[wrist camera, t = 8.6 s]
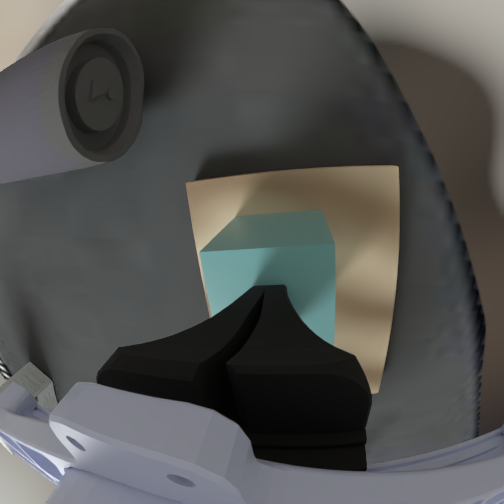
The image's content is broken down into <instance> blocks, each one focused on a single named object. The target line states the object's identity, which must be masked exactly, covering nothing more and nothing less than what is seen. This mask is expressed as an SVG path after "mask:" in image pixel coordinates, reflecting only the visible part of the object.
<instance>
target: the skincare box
mask: <svg viewBox="0 0 504 504" xmlns="http://www.w3.org/2000/svg"><path fill="white" fill-rule="evenodd" d="M12 382H16V383H17V384H19V385H21V386H23V387H25V388H26V389H27V390H28V391H29V392H30V393H31V394H32V395H33V397H34V398H35V400H36V401H37V404H38V405H40V406H42V407H44V408H45V409H47V410H49V411H51V412H52V411H53V410H54V408H55V407H56V406H57V405H58V402H57V399H56V396H55V392H54V387H53V382H52V380H51V379H50V378H49V377H47V376H46V375H45V374H44V373H43V372H41V371H40V370H39V369H38V368H37V367H36V366H35V365H33V364H32V363H31V362H28V363H27V364H26V365H25V366H24V367H23V368H21V369H20V370H19V371H18V372H17V373H16V374H14V375H13V376H12V377H11V378H10V379H9V380H8V381H6V382H5V383H4V384H3V385H2V386H1V387H0V394H1V393H2V392H3V391H4V390H5V389H6V388H7V387H8V386H9V385H10V384H11V383H12ZM0 442H1V444H2V445H3V446H4V447H5V448H6V449H7V450H8V451H9V452H10V453H11V454H12V455H14V454H15V452H14V451H13V450H12V449H11V448H10V447H9V446H8V445H7V444H6V443H5V442H4V440H3V439H2V438H1V437H0Z"/></svg>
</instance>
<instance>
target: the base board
mask: <svg viewBox="0 0 504 504" xmlns="http://www.w3.org/2000/svg"><path fill="white" fill-rule="evenodd" d="M186 189H187V195H188V202H189V208H190V214H191V220H192V226H193V232H194V238H195V243H196V249H197V255H198V260H199V265H200V270H201V276H202V281H203V286H204V291H205V296H206V300H207V305H208V310H209V315H210V318H211V317H212V315H211V310H210V305H209V301H208V296H207V291H206V286H205V280H204V275H203V270H202V265H201V259H200V254H199V252H200V251H201V250H202V249H203V248H204V247H205V246H206V245H207V244H208V243H209V242H210V241H211V240H212V239H213V238H214V237H215V236H216V235H217V234H218V233H219V232H220V231H221V230H222V229H223V228H224V227H225V226H226V225H227V224H228V223H229V222H230V221H231V220H232V219H233V218H235V217H236V216H246V215H258V214H271V213H285V212H299V211H315V210H322V211H323V214H324V216H325V219H326V221H327V224H328V226H329V229H330V232H331V234H332V237H333V240H334V243H335V272H336V290H335V333H334V346H335V347H337V348H339V349H341V350H344V351H346V352H349V353H351V354H353V355H355V356H356V358H357V359H358V361H359V363H360V365H361V367H362V369H363V371H364V373H365V375H366V378H367V380H368V383H369V386H370V389H371V393H378V391H379V387H380V383H381V379H382V374H383V369H384V364H385V359H386V354H387V349H388V343H389V337H390V331H391V324H392V317H393V310H394V302H395V293H396V283H397V271H398V256H399V232H400V190H399V167H398V166H393V165H369V166H339V167H319V168H304V169H291V170H279V171H268V172H258V173H249V174H240V175H231V176H224V177H216V178H209V179H202V180H195V181H191V182H187V183H186Z"/></svg>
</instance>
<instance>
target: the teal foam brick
mask: <svg viewBox="0 0 504 504" xmlns="http://www.w3.org/2000/svg"><path fill="white" fill-rule="evenodd" d="M199 254H200V259H201V265H202V270H203V275H204V280H205V286H206V291H207V296H208V301H209V305H210V310H211V315H212V316H214V315H216V314H217V313H218V312H220V311H221V310H223V309H224V308H226V307H227V306H229V305H230V304H231V303H233V302H234V301H235V300H236V299H238V298H239V297H240V296H241V295H243V294H244V293H245V292H246V291H247V290H249V289H250V288H251V287H253V286H261V285H285V286H286V287H287V294H288V297H289V299H290V301H291V303H292V305H293V307H294V309H295V310H296V312H297V314H298V315H299V316H300V318H301V319H302V320H303V322H304V323H305V324H306V325H307V326H308V327H309V328H310V329H311V330H312V331H313V332H314V333H315V334H316V335H318V336H319V337H320V338H322V339H323V340H324V341H326V342H328V343H330V344H331V345H333V346H334V333H335V290H336V272H335V243H334V240H333V237H332V234H331V232H330V229H329V226H328V224H327V221H326V219H325V216H324V214H323V211H322V210H315V211H299V212H285V213H271V214H258V215H246V216H236V217H235V218H233V219H232V220H231V221H230V222H229V223H228V224H227V225H226V226H225V227H224V228H223V229H222V230H221V231H220V232H219V233H218V234H217V235H216V236H215V237H214V238H213V239H212V240H211V241H210V242H209V243H208V244H207V245H206V246H205V247H204V248H203V249H202V250H201V251H200V252H199Z"/></svg>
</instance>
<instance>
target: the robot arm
mask: <svg viewBox="0 0 504 504" xmlns="http://www.w3.org/2000/svg"><path fill="white" fill-rule="evenodd" d="M96 379H97V383H92V382H77V383H76V384H75V385H74V386H73V387H72V388H71V390H70V391H69V392H68V393H67V394H66V395H65V397H64V398H63V399H62V400H61V401H60V402H59V404H58V405H57V406H56V407H55V408H54V410H53V411H52V412H51V411H49V410H47V409H45V408H44V407H42V406H40V405H38V404H37V401H36V400H35V398H34V397H33V395H32V394H31V393H30V392H29V391H28V390H27V389H26V388H25V387H23V386H21V385H19V384H17V383H16V382H12V383H11V384H10V385H9V386H8V387H7V388H6V389H5V390H4V391H3V392H2V393H1V394H0V437H1V438H2V439H3V440H4V442H5V443H6V444H7V445H8V446H9V447H10V448H11V449H12V450H13V451H14V452H15V453H16V454H17V455H18V456H19V457H20V458H22V459H23V460H24V461H26V462H27V463H28V464H29V465H30V466H32V467H33V468H34V469H36V470H37V471H38V472H40V473H41V474H42V475H43V476H45V477H46V478H48V479H49V480H50V481H52V482H54V483H55V484H56V485H57V486H56V488H55V489H54V491H53V492H52V494H51V495H50V497H49V498H48V500H47V501H46V503H45V504H504V423H503V425H502V427H501V428H499V429H497V430H494V431H492V432H490V433H487V434H484V435H482V436H479V437H477V438H474V439H471V440H469V441H466V442H463V443H460V444H457V445H454V446H451V447H447V448H444V449H440V450H437V451H433V452H430V453H426V454H422V455H417V456H413V457H408V458H404V459H399V460H393V461H388V462H382V463H375V464H368V465H367V462H366V451H365V444H366V439H367V438H366V430H365V427H366V424H367V420H368V417H369V413H370V409H371V405H372V394H371V389H370V386H369V383H368V380H367V378H366V375H365V373H364V371H363V369H362V367H361V365H360V363H359V361H358V359H357V358H356V356H355V355H353V354H351V353H349V352H346V351H344V350H341V349H339V348H337V347H335V346H333V345H331V344H330V343H328V342H326V341H324V340H323V339H322V338H320V337H319V336H318V335H316V334H315V333H314V332H313V331H312V330H311V329H310V328H309V327H308V326H307V325H306V324H305V323H304V322H303V320H302V319H301V318H300V316H299V315H298V314H297V312H296V310H295V309H294V307H293V305H292V303H291V301H290V299H289V297H288V294H287V287H286V286H285V285H261V286H253V287H251V288H250V289H249V290H247V291H246V292H245V293H244V294H243V295H241V296H240V297H239V298H238V299H236V300H235V301H234V302H233V303H231V304H230V305H229V306H227V307H226V308H224V309H223V310H221V311H220V312H218V313H217V314H216V315H214V316H212V317H211V318H209V319H207V320H206V321H204V322H202V323H200V324H198V325H196V326H194V327H192V328H189V329H187V330H185V331H182V332H180V333H177V334H175V335H172V336H169V337H166V338H163V339H159V340H155V341H152V342H147V343H143V344H137V345H131V346H125V347H119V348H118V349H117V350H116V351H115V352H114V353H113V355H112V356H111V357H110V358H109V359H108V360H107V362H106V363H105V364H104V365H103V366H102V368H101V369H100V370H99V371H98V373H97V378H96Z"/></svg>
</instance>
